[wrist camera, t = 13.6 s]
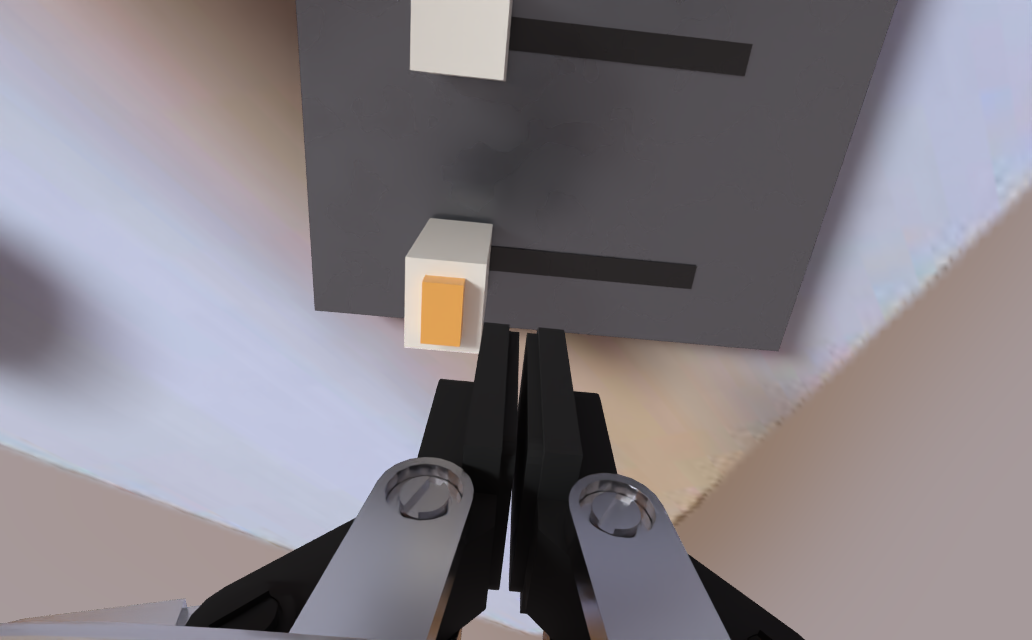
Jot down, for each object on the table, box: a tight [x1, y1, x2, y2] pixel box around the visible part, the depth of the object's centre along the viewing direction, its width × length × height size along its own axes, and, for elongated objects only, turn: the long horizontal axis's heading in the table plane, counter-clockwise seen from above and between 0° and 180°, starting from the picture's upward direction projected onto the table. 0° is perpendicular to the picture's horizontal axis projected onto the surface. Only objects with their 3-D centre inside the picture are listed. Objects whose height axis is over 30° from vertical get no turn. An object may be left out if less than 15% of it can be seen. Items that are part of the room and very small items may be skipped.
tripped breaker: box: [404, 218, 493, 354], centre depth 18 cm, size 2×3×6 cm
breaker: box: [410, 0, 513, 82], centre depth 15 cm, size 2×3×5 cm
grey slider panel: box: [296, 0, 898, 351], centre depth 19 cm, size 20×22×3 cm
